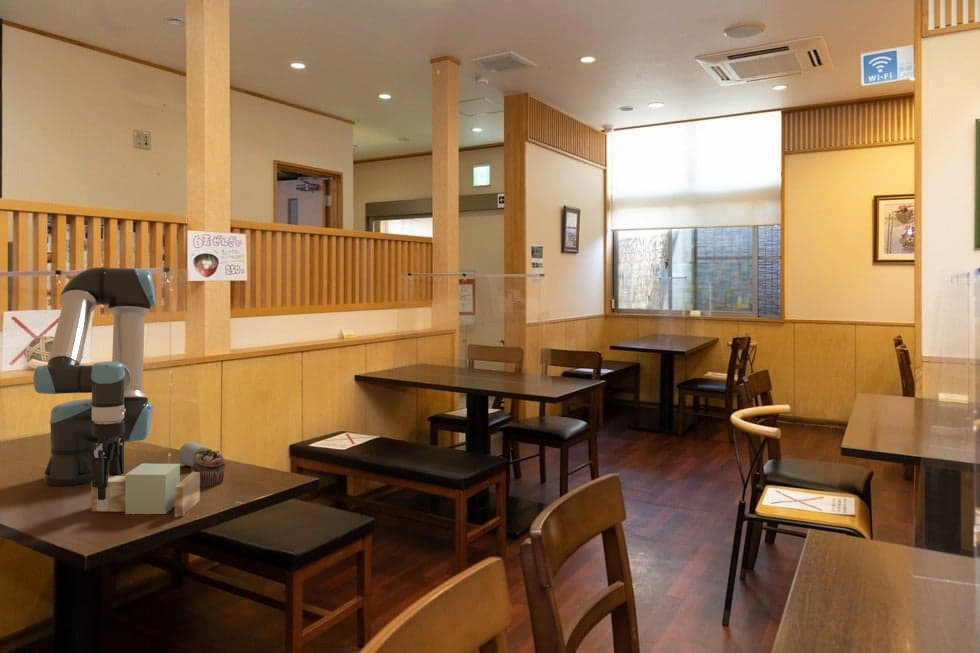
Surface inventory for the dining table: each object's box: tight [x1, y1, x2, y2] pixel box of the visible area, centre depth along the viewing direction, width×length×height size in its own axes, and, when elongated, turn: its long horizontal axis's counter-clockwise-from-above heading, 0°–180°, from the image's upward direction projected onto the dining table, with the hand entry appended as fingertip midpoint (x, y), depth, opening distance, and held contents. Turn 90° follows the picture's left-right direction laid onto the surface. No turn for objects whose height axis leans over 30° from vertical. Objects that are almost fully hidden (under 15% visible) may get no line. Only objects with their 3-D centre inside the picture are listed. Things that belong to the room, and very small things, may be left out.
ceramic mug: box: [177, 441, 210, 468], centre depth 217 cm, size 11×8×8 cm
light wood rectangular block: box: [90, 475, 126, 512], centre depth 177 cm, size 16×5×8 cm, turn 95°
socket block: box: [124, 462, 181, 516], centre depth 178 cm, size 10×10×11 cm
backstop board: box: [174, 471, 201, 517], centre depth 178 cm, size 2×13×8 cm, turn 5°
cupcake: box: [190, 448, 227, 487], centre depth 200 cm, size 10×10×10 cm
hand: (108, 506), depth 177 cm, fingers closed on light wood rectangular block, 5 cm apart
